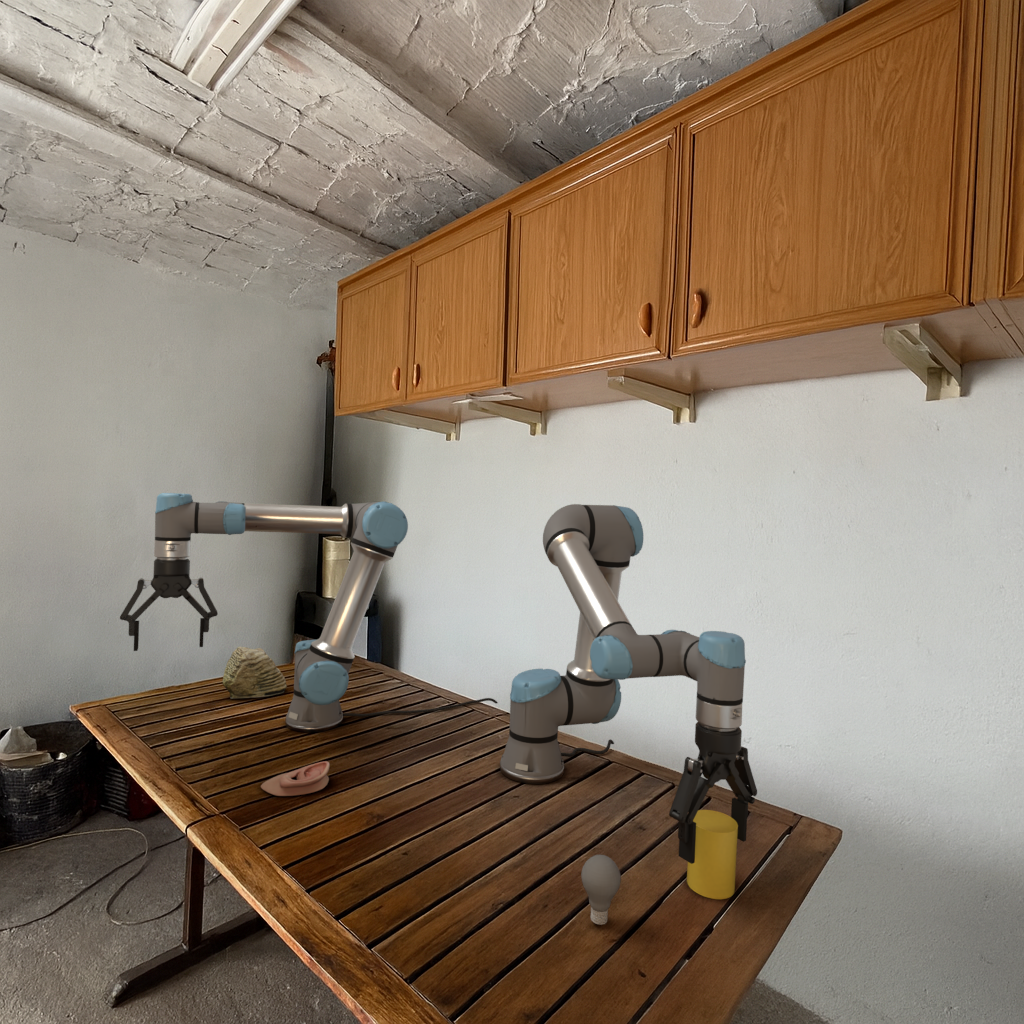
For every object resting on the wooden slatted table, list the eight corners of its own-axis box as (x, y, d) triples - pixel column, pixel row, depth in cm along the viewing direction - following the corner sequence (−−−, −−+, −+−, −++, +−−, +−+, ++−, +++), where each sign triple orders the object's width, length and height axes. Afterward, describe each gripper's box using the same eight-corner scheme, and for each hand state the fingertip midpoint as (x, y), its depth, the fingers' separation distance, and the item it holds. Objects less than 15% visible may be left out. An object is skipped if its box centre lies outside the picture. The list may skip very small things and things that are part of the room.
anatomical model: (253, 773, 134) (283, 753, 145) (252, 792, 134) (282, 770, 145) (310, 782, 131) (336, 760, 142) (309, 801, 131) (335, 777, 143)
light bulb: (576, 909, 100) (578, 846, 100) (613, 909, 101) (616, 846, 100) (583, 935, 94) (586, 869, 94) (622, 935, 95) (626, 868, 94)
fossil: (218, 695, 195) (220, 647, 195) (278, 685, 208) (279, 640, 207) (228, 703, 189) (230, 653, 188) (289, 692, 201) (290, 645, 201)
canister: (680, 887, 107) (683, 823, 107) (694, 866, 114) (697, 805, 114) (728, 905, 103) (731, 838, 103) (739, 882, 110) (742, 818, 109)
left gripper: (108, 560, 141) (105, 655, 141) (230, 559, 152) (227, 647, 152) (111, 556, 147) (109, 647, 148) (229, 556, 159) (226, 640, 159)
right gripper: (686, 744, 98) (681, 881, 98) (781, 719, 112) (776, 839, 112) (650, 729, 104) (645, 857, 104) (744, 707, 118) (739, 820, 118)
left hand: (169, 647), depth 150 cm, fingers open, 13 cm apart
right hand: (713, 848), depth 108 cm, fingers open, 13 cm apart
